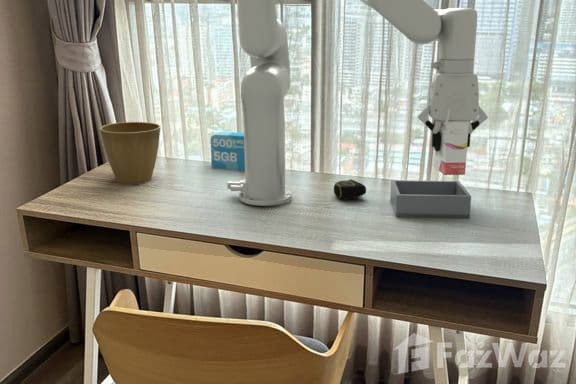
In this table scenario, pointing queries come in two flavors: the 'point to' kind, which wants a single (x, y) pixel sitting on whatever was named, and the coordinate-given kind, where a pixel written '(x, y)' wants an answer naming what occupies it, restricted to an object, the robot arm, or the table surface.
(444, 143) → the ink cartridge box
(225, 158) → the data package
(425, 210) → the tote
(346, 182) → the tape measure
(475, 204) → the table surface
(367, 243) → the table surface
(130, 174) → the plant pot
